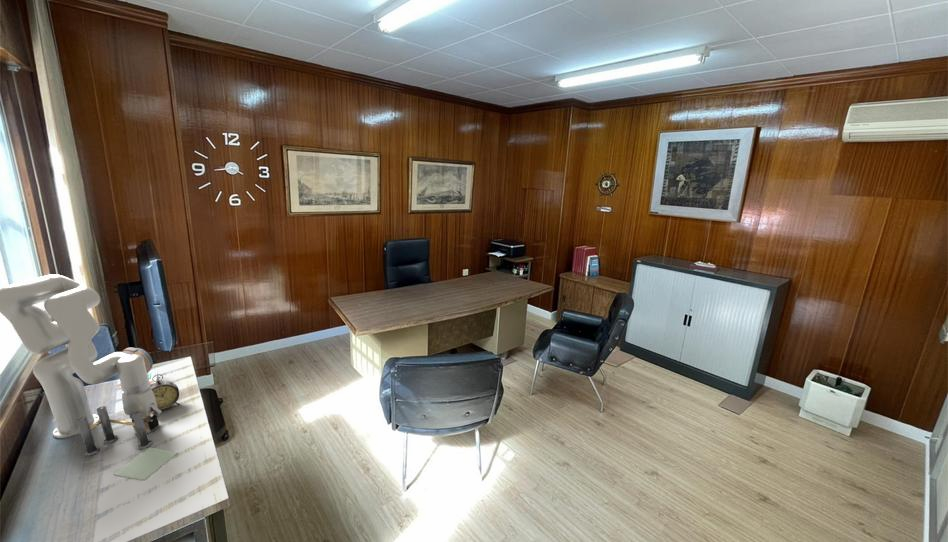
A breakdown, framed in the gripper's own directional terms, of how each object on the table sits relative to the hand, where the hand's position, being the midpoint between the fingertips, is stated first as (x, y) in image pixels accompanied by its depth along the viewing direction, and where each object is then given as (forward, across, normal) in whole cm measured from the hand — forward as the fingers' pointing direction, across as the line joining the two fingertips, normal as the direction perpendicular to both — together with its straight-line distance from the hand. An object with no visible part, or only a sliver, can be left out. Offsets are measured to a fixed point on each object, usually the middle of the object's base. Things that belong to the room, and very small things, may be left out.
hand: (146, 426), depth 142 cm
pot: (+1, 0, 0) cm, 1 cm away
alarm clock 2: (+2, -5, +12) cm, 13 cm away
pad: (+1, +17, -14) cm, 22 cm away
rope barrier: (+1, 0, -10) cm, 10 cm away
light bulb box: (+2, -15, +15) cm, 21 cm away
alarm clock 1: (+2, -35, +26) cm, 44 cm away
